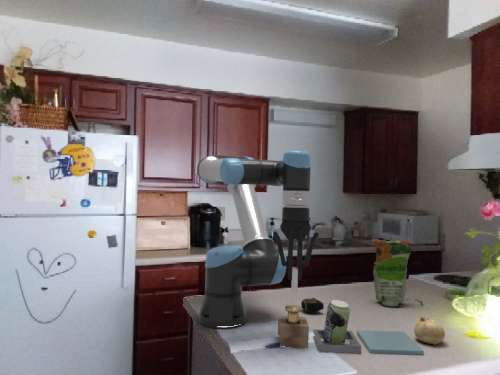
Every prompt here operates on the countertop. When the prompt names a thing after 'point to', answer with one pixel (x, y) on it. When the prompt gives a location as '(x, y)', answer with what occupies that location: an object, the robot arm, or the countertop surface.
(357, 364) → the countertop surface
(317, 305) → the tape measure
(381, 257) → the pouch
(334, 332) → the beverage can
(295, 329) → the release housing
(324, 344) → the socket collar
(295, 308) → the plunger
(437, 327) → the onion
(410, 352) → the light blue square tile
